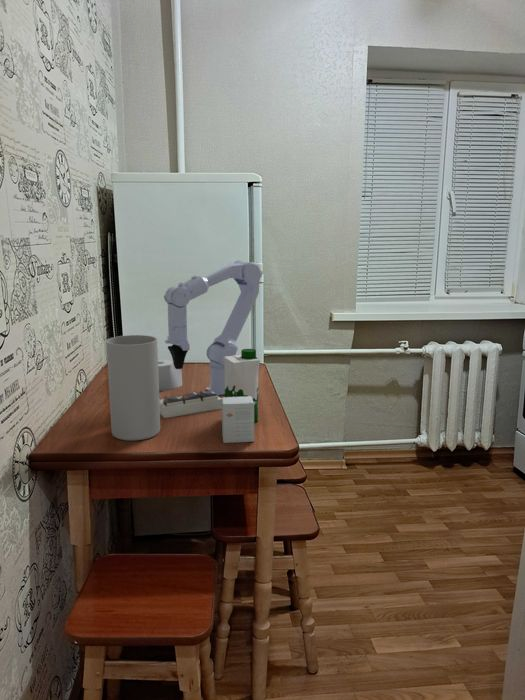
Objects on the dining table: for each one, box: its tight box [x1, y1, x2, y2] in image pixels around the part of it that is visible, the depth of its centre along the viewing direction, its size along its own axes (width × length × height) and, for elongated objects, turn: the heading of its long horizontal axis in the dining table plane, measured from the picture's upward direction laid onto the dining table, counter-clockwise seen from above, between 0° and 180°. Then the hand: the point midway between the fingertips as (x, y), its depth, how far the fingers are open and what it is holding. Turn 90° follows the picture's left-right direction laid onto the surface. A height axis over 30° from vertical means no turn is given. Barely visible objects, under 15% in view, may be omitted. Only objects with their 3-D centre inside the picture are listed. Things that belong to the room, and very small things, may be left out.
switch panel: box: [159, 395, 222, 419], centre depth 155 cm, size 22×8×4 cm, turn 119°
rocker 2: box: [182, 391, 200, 402], centre depth 152 cm, size 4×3×2 cm, turn 119°
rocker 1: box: [163, 395, 182, 403], centre depth 150 cm, size 4×3×2 cm, turn 119°
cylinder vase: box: [105, 334, 161, 442], centre depth 134 cm, size 12×12×25 cm
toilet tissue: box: [158, 359, 183, 392], centre depth 177 cm, size 9×13×9 cm
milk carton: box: [224, 348, 261, 423], centre depth 144 cm, size 9×9×20 cm
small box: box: [221, 396, 255, 444], centre depth 132 cm, size 8×6×10 cm
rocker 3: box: [198, 390, 218, 398], centre depth 155 cm, size 4×3×2 cm, turn 119°
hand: (178, 368), depth 162 cm, fingers closed
